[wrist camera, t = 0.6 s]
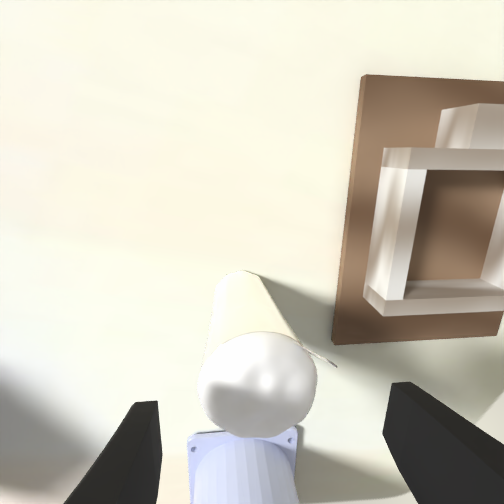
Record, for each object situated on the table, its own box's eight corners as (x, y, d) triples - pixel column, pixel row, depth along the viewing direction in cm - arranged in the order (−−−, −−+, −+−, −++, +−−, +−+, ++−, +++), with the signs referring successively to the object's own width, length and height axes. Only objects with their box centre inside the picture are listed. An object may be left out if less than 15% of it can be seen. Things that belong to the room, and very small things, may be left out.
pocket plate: (489, 331, 23) (530, 357, 20) (331, 340, 21) (350, 370, 18) (560, 87, 18) (628, 74, 15) (361, 77, 16) (393, 61, 13)
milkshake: (299, 278, 20) (380, 398, 10) (244, 338, 20) (272, 499, 11) (245, 234, 18) (279, 324, 9) (188, 300, 19) (165, 446, 10)
